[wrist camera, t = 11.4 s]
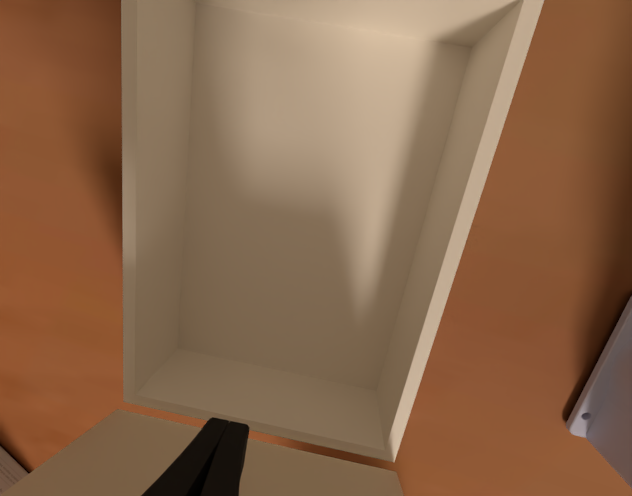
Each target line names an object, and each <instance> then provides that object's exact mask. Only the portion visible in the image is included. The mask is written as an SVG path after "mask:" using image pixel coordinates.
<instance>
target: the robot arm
mask: <svg viewBox="0 0 632 496" xmlns="http://www.w3.org/2000/svg"><path fill="white" fill-rule="evenodd" d="M583 413H584V414H583ZM249 428H250V427H249V426H248V425H247V424H243V423H239V422H234V421H230V422H229V420H224V419H219V418H214V417H212V418H210V419H209V420H208V421H207V423H206V424H205V425H204V427H203V428H202V429H201V430H200V432H199V433H198V434H197V435H196V437H195V438H194V439H193V440H192V441H191V443H190V444H189V445H188V446H187V447H186V448H185V449H184V451H183V452H182V453H181V454H180V455H179V456H178V457H177V458H176V460H175V461H174V462H173V463H172V464H171V465H170V466H169V467H168V468H167V469H166V470H165V472H164V473H163V474H162V475H161V476H160V477H159V478H158V479H157V480H156V481H155V482H154V483H153V484H152V485H151V486H150V487H149V488H148V489H147V490H146V491H145V492H144V493H143V494H142V495H141V496H239V485H240V478H241V474H242V471H243V467H244V461H245V454H246V448H247V441H248V434H249ZM566 428H567V429H568V430H569V431H570V432H571V433H572V434H573V435H576V436H581V437H585V438H587V440H588V441H589V442H590V443H591V444H592V445H593V446H594V447H595V448H596V449H597V451H598V452H599V453H600V454H601V455H602V456H603V457H604V458H605V459H606V461H607V462H608V463H609V464H610V465H611V466H612V467H613V468H614V469H615V470H616V472H617V473H618V474H619V475H620V476H621V477H622V478H623V479H624V480H625V482H626V483H627V484H628V485H629V486H630V487H631V488H632V296H631V297H630V299H629V301H628V303H627V305H626V307H625V309H624V311H623V313H622V315H621V317H620V319H619V321H618V323H617V325H616V327H615V329H614V331H613V333H612V334H611V336H610V338H609V340H608V342H607V344H606V346H605V348H604V350H603V352H602V354H601V356H600V358H599V360H598V362H597V364H596V366H595V368H594V370H593V372H592V374H591V376H590V378H589V380H588V381H587V383H586V385H585V387H584V389H583V391H582V393H581V395H580V397H579V399H578V401H577V403H576V405H575V407H574V409H573V411H572V413H571V415H570V417H569V419H568V421H567V423H566Z"/></svg>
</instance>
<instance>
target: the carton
mask: <svg viewBox="0 0 632 496" xmlns="http://www.w3.org/2000/svg"><path fill="white" fill-rule="evenodd" d="M543 2H544V0H121V54H122V219H123V383H124V402H127V403H131V404H136V405H140V406H145V407H149V408H154V409H158V410H163V411H167V412H172V413H176V414H180V415H185V416H189V417H194V418H198V419H203V420H207V421H208V420H209V419H210V418H212V417H214V418H219V419H224V420H229V422H230V421H234V422H239V423H243V424H247V425H248V426H249V427H250V428H249V430H252V431H256V432H261V433H265V434H270V435H274V436H279V437H283V438H288V439H292V440H297V441H301V442H306V443H310V444H315V445H319V446H324V447H328V448H332V449H337V450H341V451H346V452H350V453H355V454H359V455H364V456H368V457H373V458H377V459H382V460H386V461H391V462H394V461H395V458H396V455H397V452H398V449H399V446H400V443H401V440H402V437H403V434H404V431H405V427H406V424H407V421H408V418H409V415H410V412H411V409H412V406H413V403H414V400H415V397H416V394H417V390H418V387H419V384H420V381H421V378H422V375H423V372H424V369H425V366H426V363H427V360H428V357H429V354H430V350H431V347H432V344H433V341H434V338H435V335H436V332H437V329H438V326H439V323H440V320H441V317H442V313H443V310H444V307H445V304H446V301H447V298H448V295H449V292H450V289H451V286H452V283H453V280H454V277H455V273H456V270H457V267H458V264H459V261H460V258H461V255H462V252H463V249H464V246H465V243H466V240H467V236H468V233H469V230H470V227H471V224H472V221H473V218H474V215H475V212H476V209H477V206H478V203H479V200H480V196H481V193H482V190H483V187H484V184H485V181H486V178H487V175H488V172H489V169H490V166H491V163H492V159H493V156H494V153H495V150H496V147H497V144H498V141H499V138H500V135H501V132H502V129H503V126H504V123H505V119H506V116H507V113H508V110H509V107H510V104H511V101H512V98H513V95H514V92H515V89H516V86H517V82H518V79H519V76H520V73H521V70H522V67H523V64H524V61H525V58H526V55H527V52H528V49H529V46H530V42H531V39H532V36H533V33H534V30H535V27H536V24H537V21H538V18H539V15H540V12H541V9H542V5H543Z"/></svg>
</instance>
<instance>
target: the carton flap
mask: <svg viewBox="0 0 632 496" xmlns="http://www.w3.org/2000/svg"><path fill="white" fill-rule="evenodd" d="M201 429H202V428H199V427H195V426H190V425H186V424H182V423H177V422H173V421H168V420H164V419H159V418H155V417H150V416H146V415H142V414H137V413H133V412H128V411H124V410H119V409H117V410H115V411H114V412H113V413H111V414H110V415H109V416H107V417H106V418H105V419H103V420H102V421H100V422H99V423H98V424H96V425H95V426H94V427H92V428H91V429H90V430H88V431H87V432H85V433H84V434H83V435H81V436H80V437H79V438H77V439H76V440H74V441H73V442H72V443H70V444H69V445H68V446H66V447H65V448H64V449H62V450H61V451H59V452H58V453H57V454H55V455H54V456H53V457H51V458H50V459H49V460H47V461H46V462H44V463H43V464H42V465H40V466H39V467H38V468H36V469H35V470H33V471H32V472H31V473H29V474H28V475H27V476H25V477H24V478H23V479H21V480H20V481H18V482H17V483H16V484H14V485H13V486H12V487H10V488H9V489H8V490H6V491H5V492H3V493H2V494H1V495H0V496H141V495H142V494H143V493H144V492H145V491H146V490H147V489H148V488H149V487H150V486H151V485H152V484H153V483H154V482H155V481H156V480H157V479H158V478H159V477H160V476H161V475H162V474H163V473H164V472H165V470H166V469H167V468H168V467H169V466H170V465H171V464H172V463H173V462H174V461H175V460H176V458H177V457H178V456H179V455H180V454H181V453H182V452H183V451H184V449H185V448H186V447H187V446H188V445H189V444H190V443H191V441H192V440H193V439H194V438H195V437H196V435H197V434H198V433H199V432H200V430H201ZM239 496H404V495H403V491H402V488H401V485H400V482H399V479H398V476H397V473H396V472H395V471H390V470H386V469H382V468H377V467H373V466H368V465H364V464H359V463H355V462H350V461H346V460H342V459H337V458H333V457H328V456H324V455H319V454H315V453H310V452H306V451H302V450H297V449H293V448H288V447H284V446H279V445H275V444H270V443H266V442H262V441H257V440H253V439H248V441H247V448H246V454H245V461H244V467H243V471H242V474H241V478H240V485H239Z"/></svg>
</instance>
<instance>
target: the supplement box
mask: <svg viewBox="0 0 632 496" xmlns="http://www.w3.org/2000/svg"><path fill="white" fill-rule="evenodd" d="M28 474H29V473H28V472H27V471H26V470H25V469H24V468H22V467H21V466H20V465H19V464H18V463H17V462H16V461H15V460H14V459H13V458H12V457H11V456H10V455H9V454H8V453H7V452H6V451H5V450H4V449H3V448H2V447H1V446H0V495H1V494H2V493H3V492H5V491H6V490H8V489H9V488H10V487H12V486H13V485H14V484H16V483H17V482H18V481H20V480H21V479H23V478H24V477H25V476H27V475H28Z"/></svg>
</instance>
